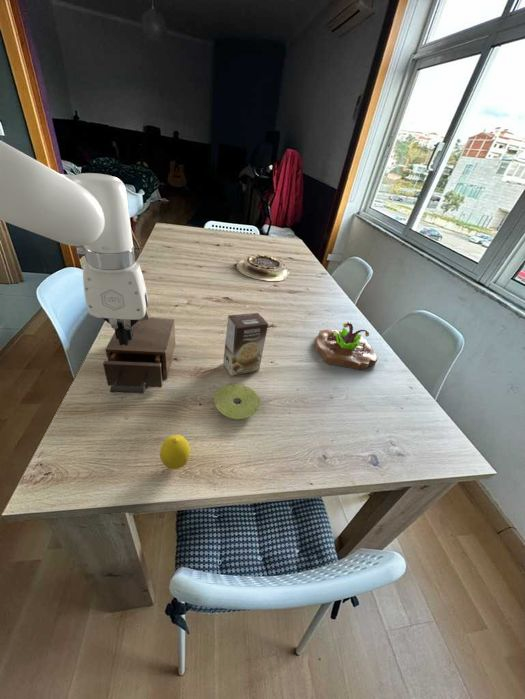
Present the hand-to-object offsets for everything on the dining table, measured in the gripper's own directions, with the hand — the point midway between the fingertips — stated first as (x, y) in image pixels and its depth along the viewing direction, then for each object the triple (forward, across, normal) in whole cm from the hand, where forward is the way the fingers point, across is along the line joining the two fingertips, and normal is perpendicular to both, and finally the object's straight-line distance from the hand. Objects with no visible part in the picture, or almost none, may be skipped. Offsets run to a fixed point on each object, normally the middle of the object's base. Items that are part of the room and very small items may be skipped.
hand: (125, 341), depth 62 cm
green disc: (+16, +25, -3) cm, 30 cm away
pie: (+17, +41, +89) cm, 100 cm away
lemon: (+16, +12, -19) cm, 28 cm away
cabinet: (+16, 0, +14) cm, 21 cm away
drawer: (+15, 0, +6) cm, 16 cm away
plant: (+16, +62, +23) cm, 68 cm away
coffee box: (+16, +27, +12) cm, 33 cm away
